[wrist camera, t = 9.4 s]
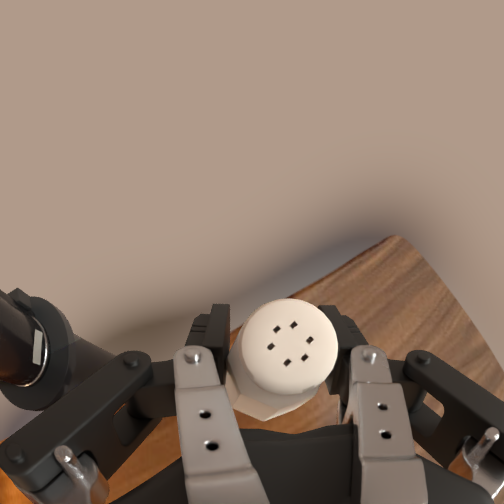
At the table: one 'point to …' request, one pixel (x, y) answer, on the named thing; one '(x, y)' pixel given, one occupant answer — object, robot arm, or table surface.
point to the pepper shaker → (280, 358)
